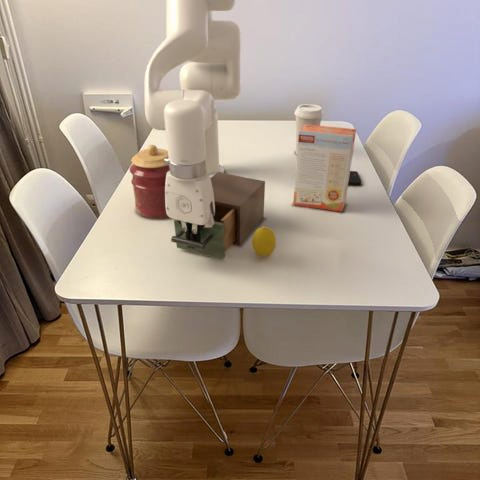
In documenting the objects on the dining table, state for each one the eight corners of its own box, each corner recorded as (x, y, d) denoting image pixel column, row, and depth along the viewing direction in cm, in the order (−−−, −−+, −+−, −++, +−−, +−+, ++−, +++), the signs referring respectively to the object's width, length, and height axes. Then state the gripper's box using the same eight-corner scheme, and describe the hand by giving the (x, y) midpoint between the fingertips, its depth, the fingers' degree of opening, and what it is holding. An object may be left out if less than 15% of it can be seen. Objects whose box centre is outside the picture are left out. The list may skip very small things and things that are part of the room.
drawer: (212, 271, 104) (210, 236, 98) (165, 258, 108) (161, 225, 102) (247, 231, 118) (248, 199, 112) (204, 221, 121) (202, 189, 116)
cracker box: (345, 203, 131) (357, 128, 118) (341, 213, 127) (354, 135, 113) (297, 196, 135) (304, 122, 121) (292, 205, 130) (298, 129, 117)
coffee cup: (323, 151, 162) (328, 106, 152) (311, 160, 156) (316, 113, 146) (299, 146, 166) (303, 101, 156) (286, 154, 160) (289, 108, 150)
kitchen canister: (127, 215, 126) (116, 150, 115) (150, 195, 135) (141, 134, 124) (169, 223, 123) (162, 157, 111) (190, 202, 132) (185, 139, 120)
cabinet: (239, 246, 114) (239, 206, 107) (191, 234, 118) (188, 195, 111) (263, 218, 125) (265, 181, 118) (218, 208, 129) (217, 172, 122)
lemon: (273, 264, 107) (274, 234, 102) (250, 261, 108) (250, 231, 103) (276, 252, 112) (278, 222, 106) (254, 249, 112) (254, 220, 107)
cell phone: (300, 172, 148) (300, 169, 147) (356, 173, 147) (357, 171, 146) (301, 184, 141) (301, 181, 140) (360, 185, 140) (361, 182, 139)
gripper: (146, 168, 93) (157, 246, 105) (212, 180, 89) (215, 260, 101) (166, 155, 99) (174, 231, 110) (229, 166, 94) (230, 244, 106)
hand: (193, 245), depth 106 cm, fingers closed
